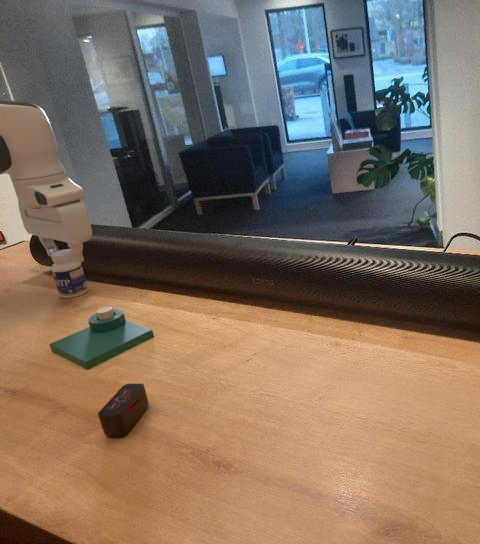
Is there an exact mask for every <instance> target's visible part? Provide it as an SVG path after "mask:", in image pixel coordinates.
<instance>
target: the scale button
mask: <svg viewBox="0 0 480 544" xmlns="http://www.w3.org/2000/svg"><path fill="white" fill-rule="evenodd" d="M113 309H114V308H113V307H112V306H103V307H101V308H98V309H97V310H96V311H95V312H96V313H97V316H98V319H99V320H106V319H109V318H112V317H114V313H113ZM96 313H95V314H96Z"/></svg>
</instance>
